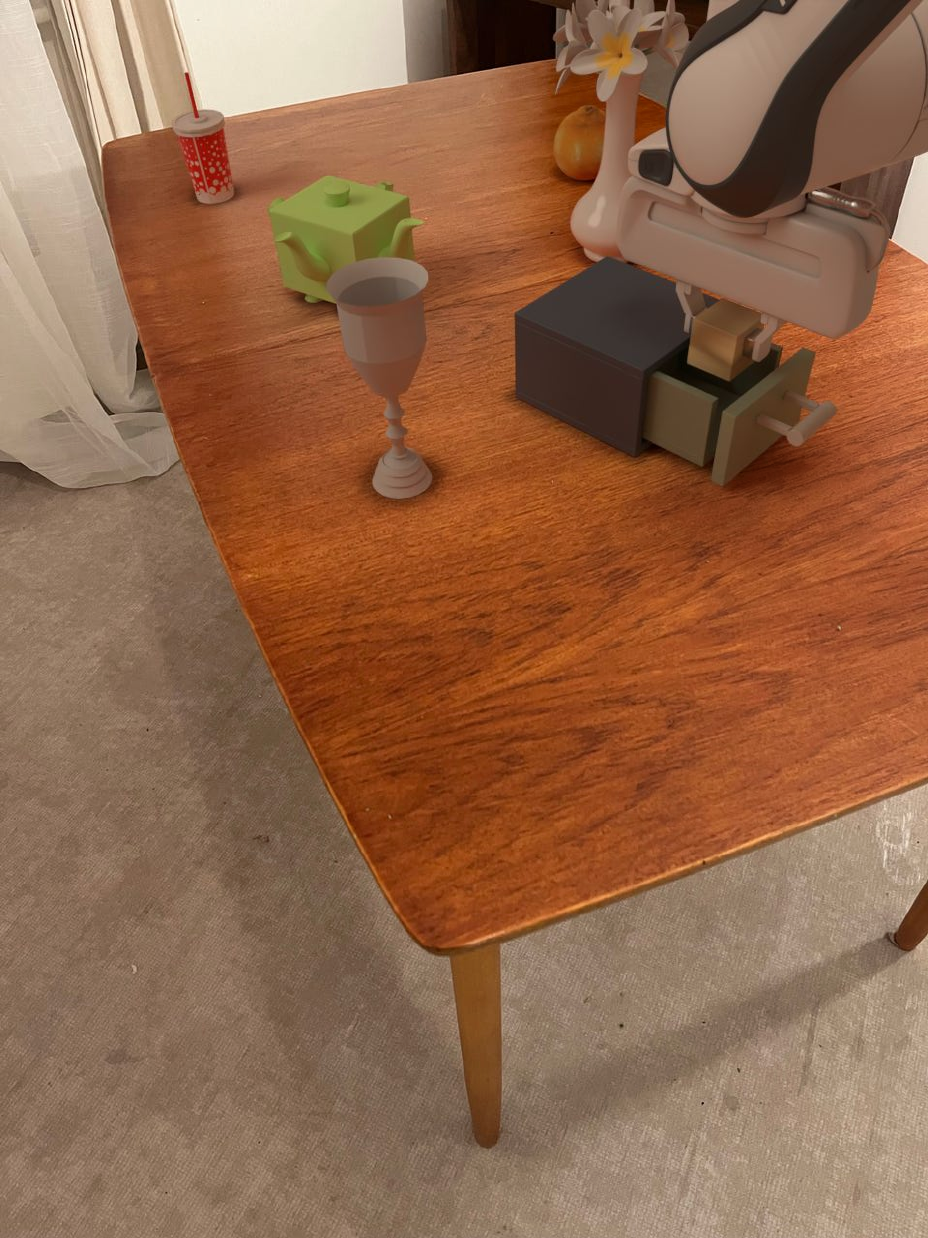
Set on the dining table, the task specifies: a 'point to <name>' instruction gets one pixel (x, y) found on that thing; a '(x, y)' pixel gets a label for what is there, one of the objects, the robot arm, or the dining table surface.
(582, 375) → the cabinet
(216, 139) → the beverage cup
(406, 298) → the chalice
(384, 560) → the dining table surface
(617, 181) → the flower vase
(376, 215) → the kettle
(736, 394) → the drawer
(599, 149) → the fruit
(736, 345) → the block
